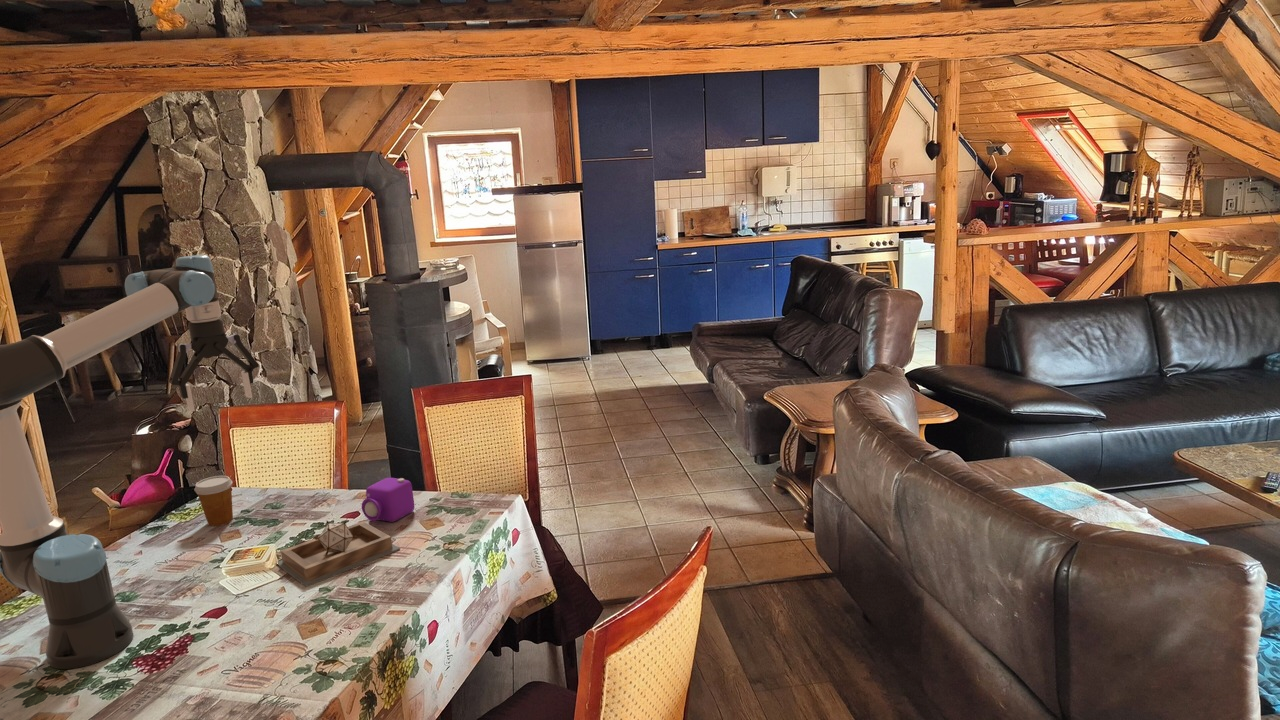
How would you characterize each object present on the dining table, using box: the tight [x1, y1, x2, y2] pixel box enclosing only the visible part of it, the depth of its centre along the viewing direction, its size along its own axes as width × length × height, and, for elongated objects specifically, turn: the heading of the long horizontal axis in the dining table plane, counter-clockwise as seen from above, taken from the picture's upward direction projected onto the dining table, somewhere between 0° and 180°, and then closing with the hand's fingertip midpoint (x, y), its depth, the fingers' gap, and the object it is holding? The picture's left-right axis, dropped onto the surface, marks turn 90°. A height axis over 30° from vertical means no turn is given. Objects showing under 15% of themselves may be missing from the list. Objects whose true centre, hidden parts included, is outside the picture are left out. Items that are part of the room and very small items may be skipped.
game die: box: [314, 520, 357, 555], centre depth 209 cm, size 9×8×10 cm
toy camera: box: [361, 477, 415, 523], centre depth 230 cm, size 11×14×10 cm
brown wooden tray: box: [280, 521, 393, 581], centre depth 209 cm, size 22×15×4 cm
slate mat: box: [277, 543, 401, 587], centre depth 209 cm, size 24×18×1 cm
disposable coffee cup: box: [194, 475, 234, 527], centre depth 235 cm, size 10×10×12 cm
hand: (220, 403), depth 210 cm, fingers open, 13 cm apart
